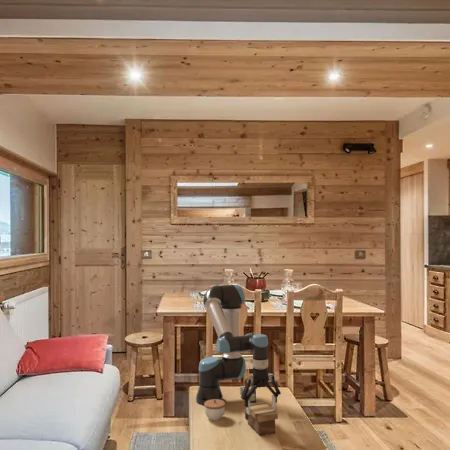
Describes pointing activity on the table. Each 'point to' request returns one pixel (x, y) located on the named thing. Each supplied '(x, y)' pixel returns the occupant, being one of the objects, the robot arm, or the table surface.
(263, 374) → the robot arm
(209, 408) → the lidded jar
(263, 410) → the lid
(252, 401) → the keeper
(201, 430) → the table surface
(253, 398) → the bolt
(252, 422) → the open wooden box
